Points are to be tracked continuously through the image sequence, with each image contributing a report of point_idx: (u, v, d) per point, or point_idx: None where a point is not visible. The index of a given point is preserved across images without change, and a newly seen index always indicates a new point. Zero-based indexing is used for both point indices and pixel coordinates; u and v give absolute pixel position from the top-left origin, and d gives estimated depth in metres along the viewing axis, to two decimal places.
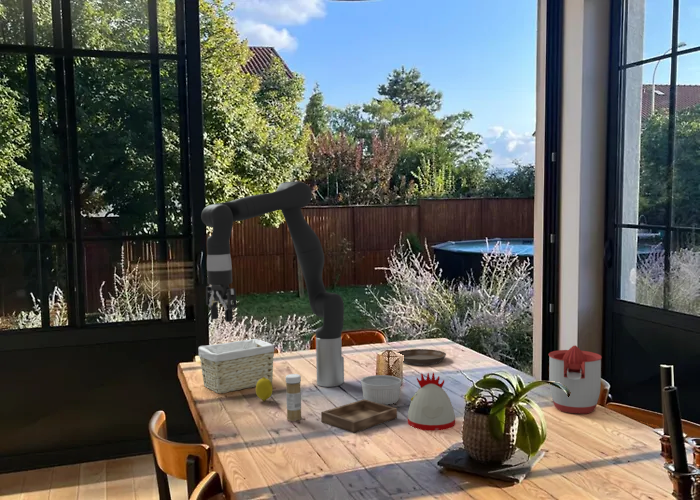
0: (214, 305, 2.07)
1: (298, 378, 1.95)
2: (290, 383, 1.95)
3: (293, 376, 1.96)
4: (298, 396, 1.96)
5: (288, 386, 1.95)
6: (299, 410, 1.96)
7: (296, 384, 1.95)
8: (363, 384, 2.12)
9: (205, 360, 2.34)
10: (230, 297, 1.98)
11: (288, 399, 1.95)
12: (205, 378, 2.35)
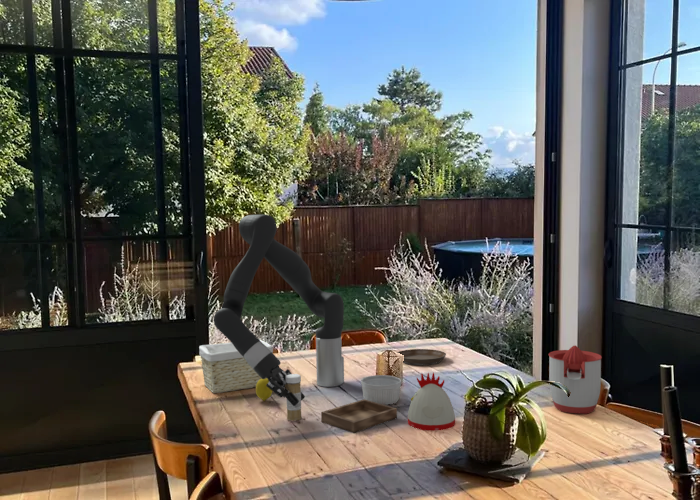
0: None
1: (298, 378, 1.95)
2: (290, 383, 1.95)
3: (293, 376, 1.96)
4: (298, 396, 1.96)
5: (288, 386, 1.95)
6: (299, 410, 1.96)
7: (296, 384, 1.95)
8: (363, 384, 2.12)
9: (204, 359, 2.35)
10: (273, 390, 1.92)
11: None
12: (205, 377, 2.36)
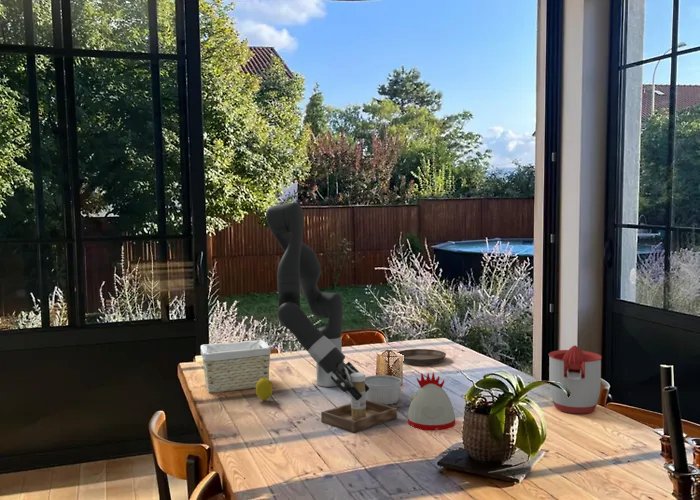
0: None
1: (363, 377, 1.93)
2: (355, 382, 1.93)
3: (358, 375, 1.93)
4: (363, 395, 1.93)
5: (353, 385, 1.93)
6: (364, 409, 1.94)
7: (361, 383, 1.93)
8: None
9: None
10: (337, 382, 1.89)
11: (353, 398, 1.93)
12: (205, 376, 2.37)
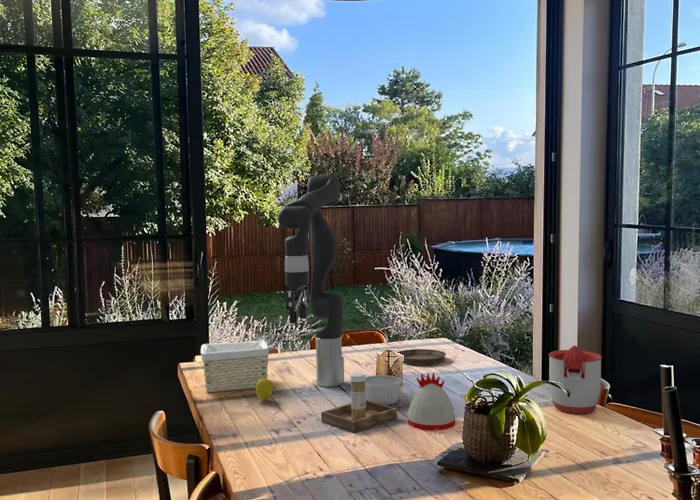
0: (302, 305, 2.10)
1: (363, 377, 1.93)
2: (356, 382, 1.93)
3: (358, 375, 1.93)
4: (363, 395, 1.93)
5: (353, 385, 1.93)
6: (364, 409, 1.94)
7: (361, 383, 1.93)
8: None
9: None
10: (287, 299, 1.99)
11: (353, 398, 1.93)
12: None
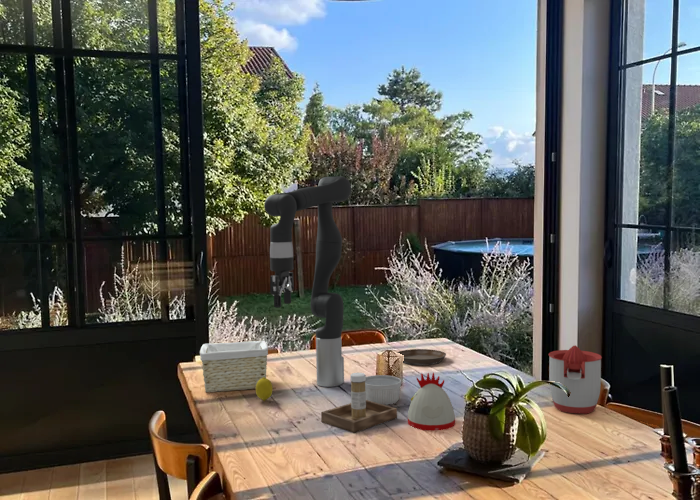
0: (287, 290, 2.17)
1: (363, 377, 1.93)
2: (356, 382, 1.93)
3: (358, 375, 1.93)
4: (363, 395, 1.93)
5: (353, 385, 1.93)
6: (364, 409, 1.94)
7: (361, 383, 1.93)
8: None
9: None
10: (271, 283, 2.06)
11: (353, 398, 1.93)
12: None
